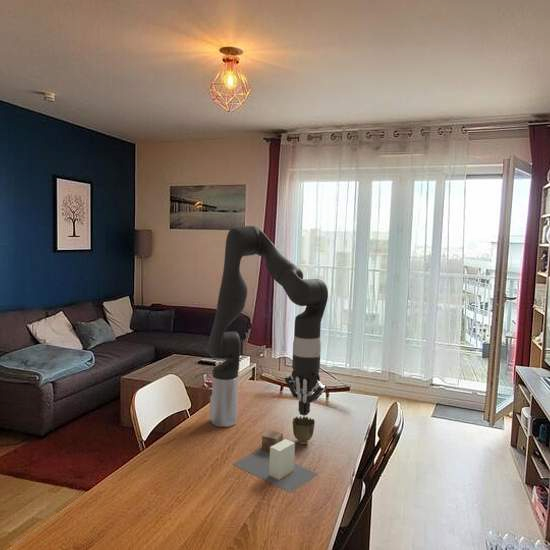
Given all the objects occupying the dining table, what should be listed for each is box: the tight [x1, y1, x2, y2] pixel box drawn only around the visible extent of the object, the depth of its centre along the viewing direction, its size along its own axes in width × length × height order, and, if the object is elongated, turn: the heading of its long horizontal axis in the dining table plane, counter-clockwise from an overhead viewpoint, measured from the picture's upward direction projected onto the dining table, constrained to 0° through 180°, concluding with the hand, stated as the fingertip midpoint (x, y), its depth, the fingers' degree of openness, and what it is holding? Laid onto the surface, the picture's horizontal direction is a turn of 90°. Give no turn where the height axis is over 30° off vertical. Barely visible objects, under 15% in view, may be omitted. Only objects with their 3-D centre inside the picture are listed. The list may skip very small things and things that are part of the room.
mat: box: [232, 448, 319, 494], centre depth 133 cm, size 22×13×1 cm, turn 51°
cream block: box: [269, 438, 296, 480], centre depth 131 cm, size 4×7×8 cm, turn 141°
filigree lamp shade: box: [292, 415, 315, 446], centre depth 150 cm, size 8×7×8 cm
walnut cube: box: [261, 429, 284, 452], centre depth 146 cm, size 5×5×5 cm
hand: (304, 414), depth 125 cm, fingers closed
